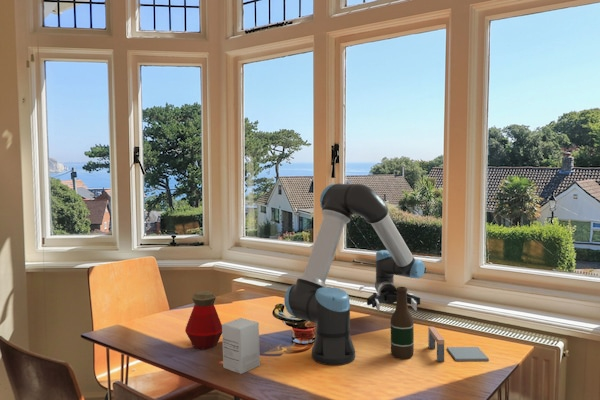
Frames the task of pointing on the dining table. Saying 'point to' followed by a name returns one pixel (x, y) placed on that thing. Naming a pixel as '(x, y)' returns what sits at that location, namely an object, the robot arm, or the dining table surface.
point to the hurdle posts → (439, 347)
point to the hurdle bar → (436, 335)
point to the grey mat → (467, 354)
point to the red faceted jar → (204, 321)
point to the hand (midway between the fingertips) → (397, 307)
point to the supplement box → (240, 345)
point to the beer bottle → (402, 328)
